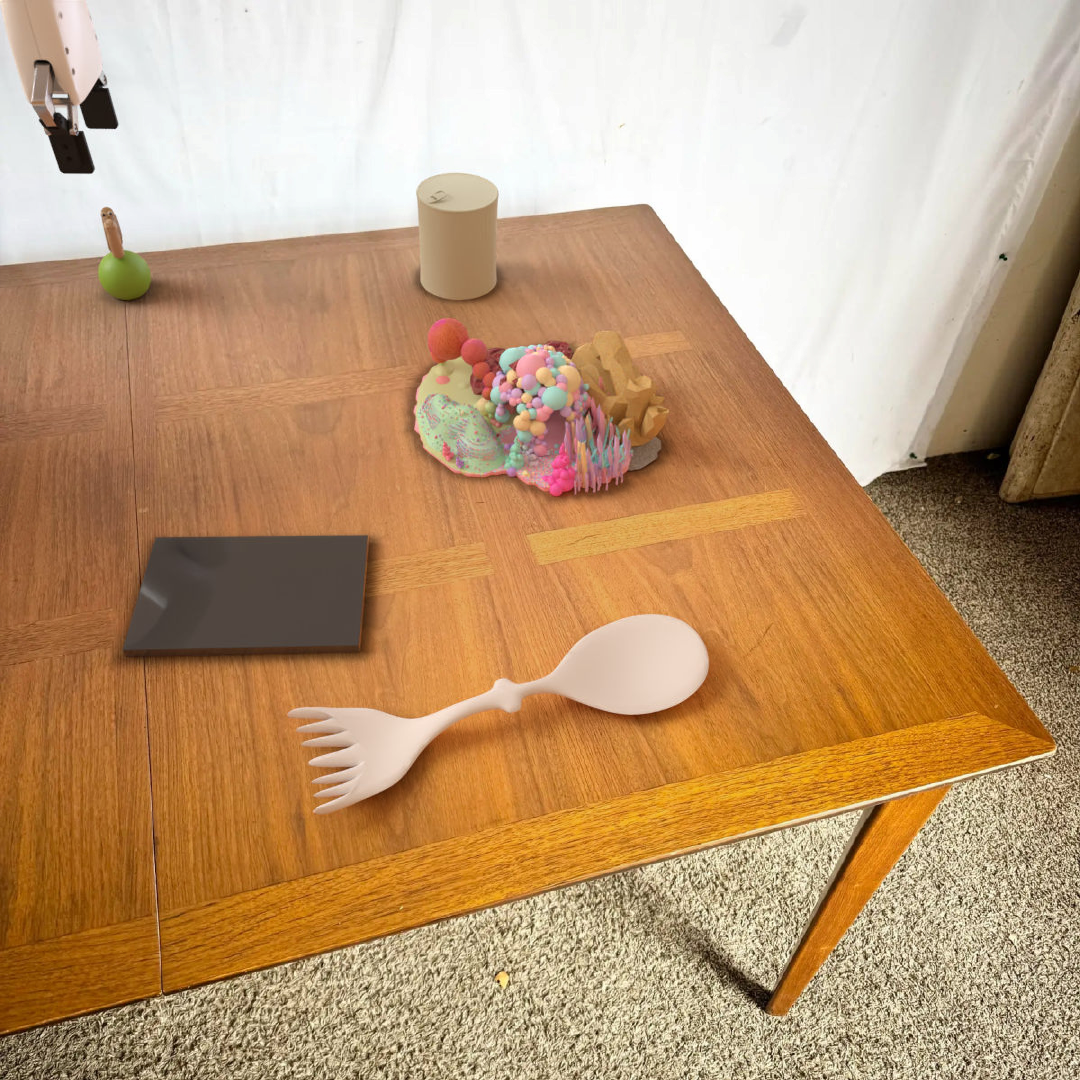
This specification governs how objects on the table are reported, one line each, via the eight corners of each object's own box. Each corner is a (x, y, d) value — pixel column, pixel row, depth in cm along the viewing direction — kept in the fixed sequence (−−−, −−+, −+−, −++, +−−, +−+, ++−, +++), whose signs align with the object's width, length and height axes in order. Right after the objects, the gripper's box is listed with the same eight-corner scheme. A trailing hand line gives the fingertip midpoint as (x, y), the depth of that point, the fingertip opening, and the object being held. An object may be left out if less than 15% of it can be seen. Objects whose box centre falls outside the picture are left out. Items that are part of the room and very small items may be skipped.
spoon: (290, 731, 71) (284, 704, 69) (670, 615, 81) (676, 588, 78) (319, 837, 66) (313, 812, 63) (724, 699, 75) (732, 673, 73)
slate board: (127, 661, 75) (122, 649, 74) (159, 548, 83) (155, 536, 82) (360, 656, 76) (358, 645, 75) (369, 546, 85) (368, 534, 84)
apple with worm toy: (110, 318, 106) (78, 217, 98) (102, 288, 110) (71, 188, 101) (161, 309, 108) (134, 208, 99) (152, 279, 112) (125, 181, 103)
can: (404, 279, 115) (398, 183, 106) (463, 254, 119) (463, 160, 111) (453, 313, 110) (451, 215, 102) (513, 286, 115) (516, 191, 106)
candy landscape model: (612, 339, 108) (621, 266, 101) (698, 477, 93) (715, 402, 86) (393, 372, 102) (387, 296, 95) (446, 525, 87) (444, 448, 80)
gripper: (18, -72, 90) (75, 111, 102) (-47, -8, 78) (26, 191, 91) (100, -70, 90) (147, 112, 103) (48, -6, 79) (108, 191, 91)
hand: (91, 149), depth 97 cm, fingers open, 9 cm apart
